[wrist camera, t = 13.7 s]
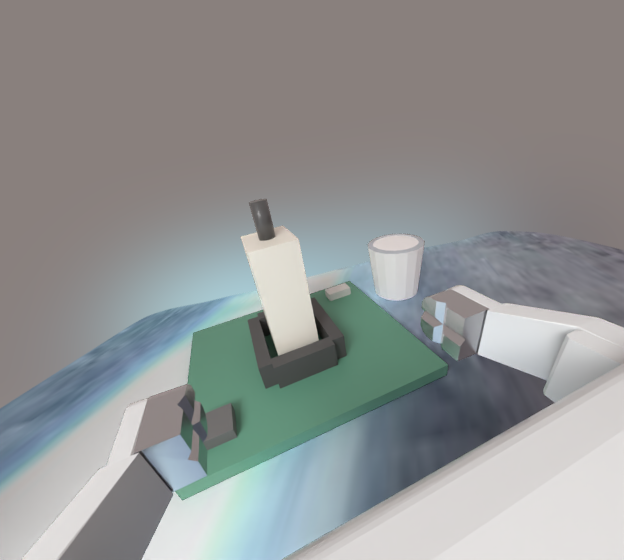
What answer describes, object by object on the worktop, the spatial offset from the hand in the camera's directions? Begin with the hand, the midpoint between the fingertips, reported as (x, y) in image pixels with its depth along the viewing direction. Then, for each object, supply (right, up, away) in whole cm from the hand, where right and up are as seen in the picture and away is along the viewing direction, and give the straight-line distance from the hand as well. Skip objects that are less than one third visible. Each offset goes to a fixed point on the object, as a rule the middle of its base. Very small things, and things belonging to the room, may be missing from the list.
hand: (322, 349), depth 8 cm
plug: (-2, -5, +18) cm, 19 cm away
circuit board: (-2, -6, +19) cm, 20 cm away
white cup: (+11, +1, +27) cm, 29 cm away
